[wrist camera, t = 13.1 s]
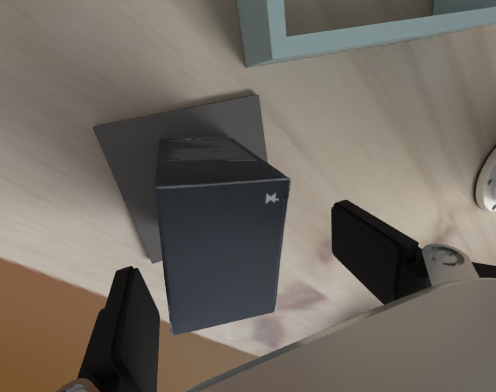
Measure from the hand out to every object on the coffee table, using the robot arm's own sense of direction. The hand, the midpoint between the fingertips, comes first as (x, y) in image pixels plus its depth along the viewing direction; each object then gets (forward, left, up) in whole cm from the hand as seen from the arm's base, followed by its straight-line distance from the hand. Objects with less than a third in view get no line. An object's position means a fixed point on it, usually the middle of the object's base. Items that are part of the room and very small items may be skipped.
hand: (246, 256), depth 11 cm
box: (+1, 0, -11) cm, 10 cm away
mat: (+1, 0, -11) cm, 11 cm away
